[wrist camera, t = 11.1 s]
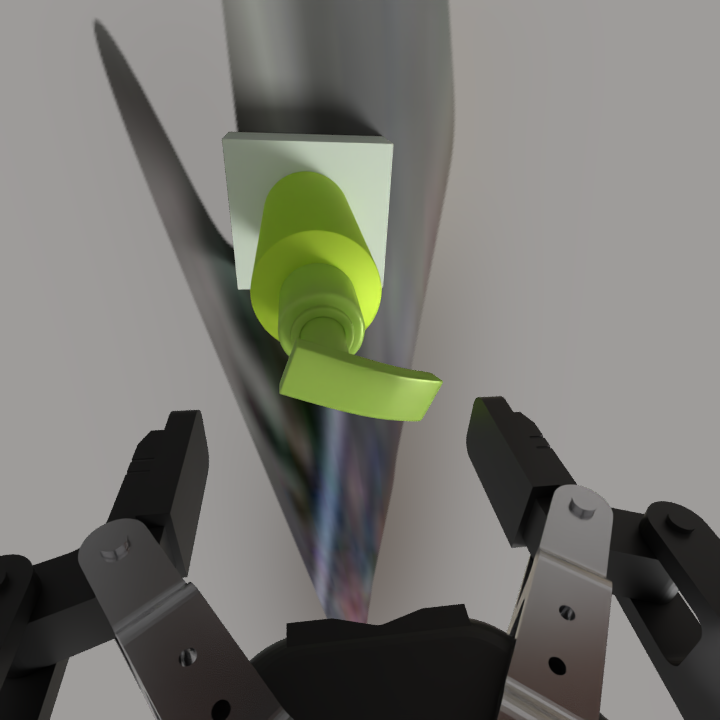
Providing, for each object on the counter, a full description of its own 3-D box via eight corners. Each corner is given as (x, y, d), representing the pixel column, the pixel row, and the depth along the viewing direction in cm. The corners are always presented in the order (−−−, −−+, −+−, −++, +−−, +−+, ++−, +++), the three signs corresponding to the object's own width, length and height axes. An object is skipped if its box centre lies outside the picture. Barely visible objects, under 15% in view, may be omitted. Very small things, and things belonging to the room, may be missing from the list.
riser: (228, 131, 32) (222, 139, 28) (382, 136, 33) (393, 144, 30) (242, 269, 37) (238, 289, 34) (374, 268, 38) (382, 287, 35)
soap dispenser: (345, 272, 34) (401, 469, 17) (253, 242, 32) (216, 433, 15) (376, 195, 31) (477, 340, 15) (277, 157, 29) (264, 275, 13)
